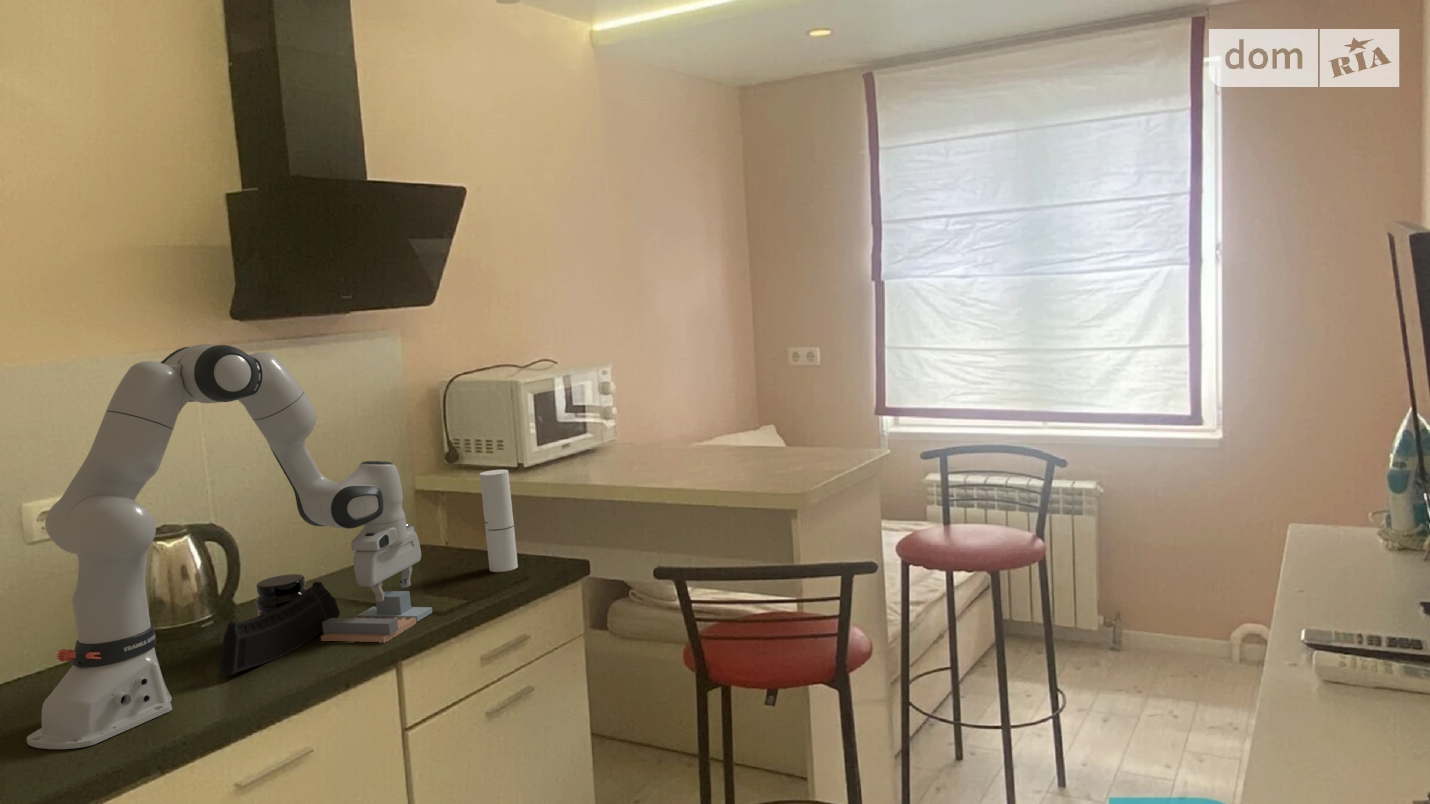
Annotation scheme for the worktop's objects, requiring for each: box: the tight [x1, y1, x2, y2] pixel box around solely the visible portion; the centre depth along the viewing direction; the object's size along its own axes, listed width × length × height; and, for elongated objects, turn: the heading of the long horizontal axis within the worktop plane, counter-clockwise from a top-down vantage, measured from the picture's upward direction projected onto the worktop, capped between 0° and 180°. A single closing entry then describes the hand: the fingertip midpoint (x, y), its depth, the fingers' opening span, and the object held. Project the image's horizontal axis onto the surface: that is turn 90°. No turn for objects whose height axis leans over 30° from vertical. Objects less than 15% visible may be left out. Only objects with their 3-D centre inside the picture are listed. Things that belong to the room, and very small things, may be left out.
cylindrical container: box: [479, 469, 519, 573], centre depth 252 cm, size 7×7×25 cm
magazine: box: [220, 581, 341, 676], centre depth 201 cm, size 17×3×30 cm
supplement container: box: [255, 573, 308, 617], centre depth 212 cm, size 10×10×12 cm
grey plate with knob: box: [356, 590, 433, 623], centre depth 218 cm, size 6×15×5 cm, turn 75°
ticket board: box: [320, 616, 417, 644], centre depth 209 cm, size 12×16×4 cm
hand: (393, 593), depth 218 cm, fingers open, 8 cm apart
